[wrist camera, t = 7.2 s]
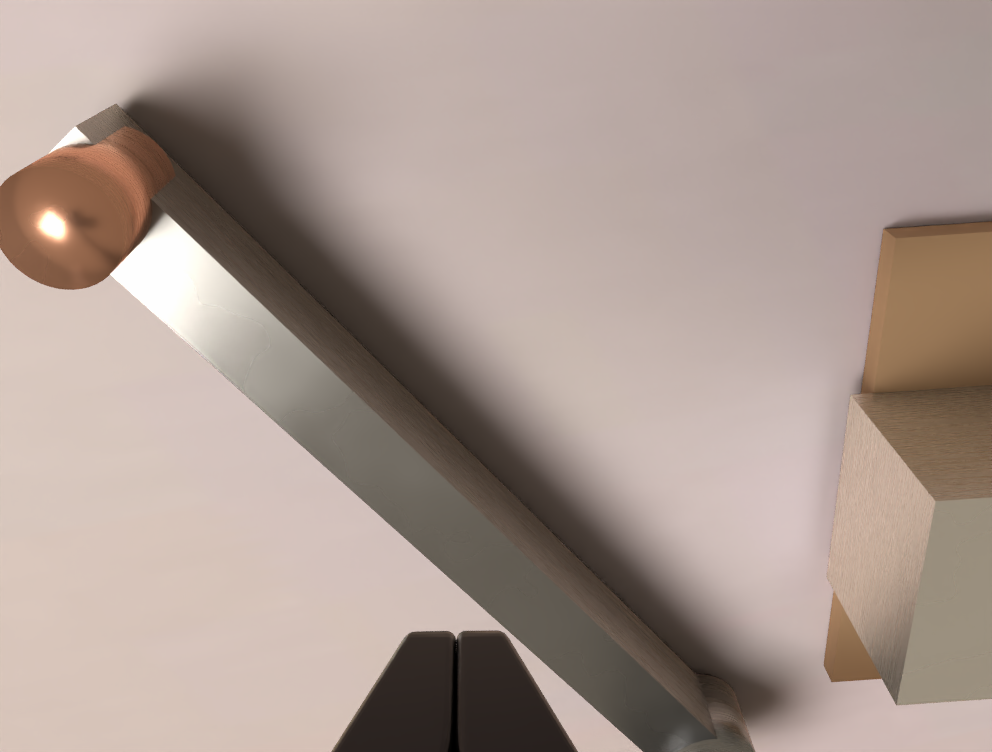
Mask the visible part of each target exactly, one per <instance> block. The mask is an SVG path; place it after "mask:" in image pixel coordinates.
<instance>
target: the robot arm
mask: <svg viewBox="0 0 992 752" xmlns="http://www.w3.org/2000/svg"><path fill="white" fill-rule="evenodd" d="M332 752H578V751H577V750H576V748H575V746H574V745H573V743H572V741H571V740H570V738H569V736H568V735H567V733H566V731H565V730H564V728H563V727H562V725H561V723H560V722H559V720H558V718H557V717H556V715H555V713H554V712H553V710H552V708H551V707H550V705H549V704H548V702H547V700H546V699H545V697H544V695H543V694H542V692H541V690H540V689H539V687H538V685H537V684H536V682H535V680H534V679H533V677H532V676H531V674H530V672H529V671H528V669H527V667H526V666H525V664H524V662H523V661H522V659H521V657H520V656H519V654H518V653H517V651H516V649H515V648H514V646H513V644H512V643H511V641H510V639H509V638H508V637H507V635H506V634H505V633H503V632H501V631H463V632H461V633H460V634H459V635H458V636H457V640H456V638H455V636H454V634H453V633H451V632H449V631H426V632H411V633H409V634H408V635H407V636H406V637H405V638H404V639H403V641H402V642H401V644H400V645H399V647H398V648H397V650H396V651H395V653H394V655H393V656H392V658H391V659H390V661H389V662H388V664H387V666H386V667H385V669H384V670H383V672H382V673H381V675H380V676H379V678H378V680H377V681H376V683H375V684H374V686H373V687H372V689H371V691H370V692H369V694H368V695H367V697H366V698H365V700H364V702H363V703H362V705H361V706H360V708H359V709H358V711H357V712H356V714H355V716H354V717H353V719H352V720H351V722H350V723H349V725H348V727H347V728H346V730H345V731H344V733H343V734H342V736H341V737H340V739H339V741H338V742H337V744H336V745H335V747H334V748H333V750H332Z"/></svg>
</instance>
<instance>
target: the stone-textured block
mask: <svg viewBox="0 0 992 752" xmlns="http://www.w3.org/2000/svg"><path fill="white" fill-rule="evenodd" d="M827 579H828V581H829V582H830V584H831V586H832V588H833V590H834V592H835V593H836V595H837V597H838V599H839V601H840V603H841V604H842V606H843V608H844V610H845V612H846V614H847V615H848V617H849V619H850V621H851V623H852V625H853V626H854V628H855V630H856V632H857V634H858V636H859V637H860V639H861V641H862V643H863V645H864V647H865V648H866V650H867V652H868V654H869V656H870V658H871V659H872V661H873V663H874V665H875V667H876V669H877V671H878V672H879V674H880V676H881V678H882V680H883V682H884V683H885V685H886V687H887V689H888V691H889V693H890V694H891V696H892V698H893V700H894V702H895V704H896V705H909V704H923V703H938V702H952V701H966V700H981V699H992V385H984V386H969V387H955V388H940V389H926V390H911V391H897V392H883V393H868V394H854V395H850V402H849V410H848V417H847V425H846V432H845V440H844V448H843V455H842V463H841V470H840V478H839V486H838V493H837V501H836V508H835V516H834V524H833V531H832V539H831V546H830V554H829V562H828V569H827Z"/></svg>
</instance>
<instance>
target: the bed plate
mask: <svg viewBox="0 0 992 752" xmlns="http://www.w3.org/2000/svg"><path fill="white" fill-rule="evenodd" d="M984 385H992V222H977V223H963V224H948V225H934V226H919V227H905V228H890V229H883V236H882V244H881V251H880V258H879V266H878V273H877V280H876V287H875V295H874V302H873V309H872V316H871V324H870V331H869V338H868V346H867V353H866V360H865V367H864V375H863V382H862V389H861V394H868V393H883V392H897V391H911V390H926V389H940V388H955V387H969V386H984ZM824 667H825V669H826V671H827V673H828V675H829V677H830V679H831V682H840V681H855V680H869V679H882V678H881V676H880V674H879V672H878V671H877V669H876V667H875V665H874V663H873V661H872V659H871V658H870V656H869V654H868V652H867V650H866V648H865V647H864V645H863V643H862V641H861V639H860V637H859V636H858V634H857V632H856V630H855V628H854V626H853V625H852V623H851V621H850V619H849V617H848V615H847V614H846V612H845V610H844V608H843V606H842V604H841V603H840V601H839V599H838V597H837V595H836V593H835V592H834V593H833V600H832V608H831V615H830V622H829V629H828V637H827V644H826V651H825V658H824Z"/></svg>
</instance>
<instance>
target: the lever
mask: <svg viewBox="0 0 992 752" xmlns="http://www.w3.org/2000/svg"><path fill="white" fill-rule="evenodd" d="M0 248H1V250H2V251H3V253H4V254H5V256H6V257H7V258H8V260H9V261H10V262H11V263H12V264H13V265H14V266H15V267H16V268H17V269H18V270H20V271H21V272H22V273H24V274H25V275H26V276H28V277H30V278H31V279H33V280H35V281H37V282H39V283H41V284H44V285H47V286H50V287H54V288H58V289H73V290H74V289H83V288H87V287H90V286H93V285H95V284H97V283H99V282H101V281H103V280H104V279H105V278H106V277H108V276H109V275H112V276H113V277H114V278H115V279H116V280H117V281H118V282H119V283H120V284H122V285H123V286H124V287H125V288H126V289H127V290H128V291H129V292H131V293H132V294H133V295H134V296H135V297H136V298H137V299H138V300H139V301H141V302H142V303H143V304H144V305H145V306H146V307H147V308H148V309H150V310H151V311H152V312H153V313H154V314H155V315H156V316H157V317H158V318H160V319H161V320H162V321H163V322H164V323H165V324H166V325H167V326H169V327H170V328H171V329H172V330H173V331H174V332H175V333H176V334H177V335H179V336H180V337H181V338H182V339H183V340H184V341H185V342H186V343H188V344H189V345H190V346H191V347H192V348H193V349H194V350H195V351H196V352H198V353H199V354H200V355H201V356H202V357H203V358H204V359H205V360H206V361H208V362H209V363H210V364H211V365H212V366H213V367H214V368H215V369H217V370H218V371H219V372H220V373H221V374H222V375H223V376H224V377H225V378H227V379H228V380H229V381H230V382H231V383H232V384H233V385H234V386H236V387H237V388H238V389H239V390H240V391H241V392H242V393H243V394H244V395H246V396H247V397H248V398H249V399H250V400H251V401H252V402H253V403H255V404H256V405H257V406H258V407H259V408H260V409H261V410H262V411H263V412H265V413H266V414H267V415H268V416H269V417H270V418H271V419H272V420H273V421H275V422H276V423H277V424H278V425H279V426H280V427H281V428H282V429H284V430H285V431H286V432H287V433H288V434H289V435H290V436H291V437H292V438H294V439H295V440H296V441H297V442H298V443H299V444H300V445H301V446H303V447H304V448H305V449H306V450H307V451H308V452H309V453H310V454H311V455H313V456H314V457H315V458H316V459H317V460H318V461H319V462H320V463H322V464H323V465H324V466H325V467H326V468H327V469H328V470H329V471H330V472H332V473H333V474H334V475H335V476H336V477H337V478H338V479H339V480H340V481H342V482H343V483H344V484H345V485H346V486H347V487H348V488H349V489H351V490H352V491H353V492H354V493H355V494H356V495H357V496H358V497H359V498H361V499H362V500H363V501H364V502H365V503H366V504H367V505H368V506H370V507H371V508H372V509H373V510H374V511H375V512H376V513H377V514H378V515H380V516H381V517H382V518H383V519H384V520H385V521H386V522H387V523H389V524H390V525H391V526H392V527H393V528H394V529H395V530H396V531H397V532H399V533H400V534H401V535H402V536H403V537H404V538H405V539H406V540H408V541H409V542H410V543H411V544H412V545H413V546H414V547H415V548H416V549H418V550H419V551H420V552H421V553H422V554H423V555H424V556H425V557H426V558H428V559H429V560H430V561H431V562H432V563H433V564H434V565H435V566H437V567H438V568H439V569H440V570H441V571H442V572H443V573H444V574H445V575H447V576H448V577H449V578H450V579H451V580H452V581H453V582H454V583H456V584H457V585H458V586H459V587H460V588H461V589H462V590H463V591H464V592H466V593H467V594H468V595H469V596H470V597H471V598H472V599H473V600H475V601H476V602H477V603H478V604H479V605H480V606H481V607H482V608H483V609H485V610H486V611H487V612H488V613H489V614H490V615H491V616H492V617H493V618H495V619H496V620H497V621H498V622H499V623H500V624H501V625H502V626H504V627H505V628H506V629H507V630H508V631H509V632H510V633H511V634H512V635H514V636H515V637H516V638H517V639H518V640H519V641H520V642H521V643H523V644H524V645H525V646H526V647H527V648H528V649H529V650H530V651H531V652H533V653H534V654H535V655H536V656H537V657H538V658H539V659H540V660H542V661H543V662H544V663H545V664H546V665H547V666H548V667H549V668H550V669H552V670H553V671H554V672H555V673H556V674H557V675H558V676H559V677H560V678H562V679H563V680H564V681H565V682H566V683H567V684H568V685H569V686H571V687H572V688H573V689H574V690H575V691H576V692H577V693H578V694H579V695H581V696H582V697H583V698H584V699H585V700H586V701H587V702H588V703H590V704H591V705H592V706H593V707H594V708H595V709H596V710H597V711H598V712H600V713H601V714H602V715H603V716H604V717H605V718H606V719H607V720H609V721H610V722H611V723H612V724H613V725H614V726H615V727H616V728H617V729H619V730H620V731H621V732H622V733H623V734H624V735H625V736H626V737H627V738H629V739H630V740H631V741H632V742H633V743H634V744H635V745H636V746H638V747H639V748H640V749H641V750H642V751H643V752H755V750H754V747H753V744H752V741H751V738H750V735H749V733H748V730H747V727H746V724H745V721H744V718H743V715H742V712H741V709H740V707H739V704H738V701H737V698H736V695H735V692H734V691H733V689H732V688H731V687H730V685H728V684H727V683H726V682H725V681H723V680H721V679H719V678H717V677H714V676H710V675H705V674H695V673H694V672H693V671H692V670H691V669H690V668H689V667H688V666H687V665H686V664H685V663H684V662H683V661H682V660H681V659H680V658H679V657H678V656H677V655H676V654H675V653H674V652H673V651H672V650H671V649H670V648H669V647H668V646H667V645H666V644H665V643H664V642H663V641H662V640H661V639H660V638H659V637H658V636H657V635H656V634H655V633H654V632H653V631H652V630H651V629H650V628H649V627H648V626H647V625H645V624H644V623H643V622H642V621H641V620H640V619H639V618H638V617H637V616H636V615H635V614H634V613H633V612H632V611H631V610H630V609H629V608H628V607H627V606H626V605H625V604H624V603H623V602H622V601H621V600H620V599H619V598H618V597H617V596H616V595H615V594H614V593H613V592H612V591H611V590H610V589H609V588H608V587H607V586H606V585H605V584H604V583H603V582H602V581H601V580H600V579H599V578H598V577H597V576H596V575H595V574H594V573H593V572H592V571H591V570H590V569H589V568H588V567H587V566H586V565H585V564H584V563H583V562H581V561H580V560H579V559H578V558H577V557H576V556H575V555H574V554H573V553H572V552H571V551H570V550H569V549H568V548H567V547H566V546H565V545H564V544H563V543H562V542H561V541H560V540H559V539H558V538H557V537H556V536H555V535H554V534H553V533H552V532H551V531H550V530H549V529H548V528H547V527H546V526H545V525H544V524H543V523H542V522H541V521H540V520H539V519H538V518H537V517H536V516H535V515H534V514H533V513H532V512H531V511H530V510H529V509H528V508H527V507H526V506H525V505H524V504H523V503H522V502H521V501H520V500H519V499H517V498H516V497H515V496H514V495H513V494H512V493H511V492H510V491H509V490H508V489H507V488H506V487H505V486H504V485H503V484H502V483H501V482H500V481H499V480H498V479H497V478H496V477H495V476H494V475H493V474H492V473H491V472H490V471H489V470H488V469H487V468H486V467H485V466H484V465H483V464H482V463H481V462H480V461H479V460H478V459H477V458H476V457H475V456H474V455H473V454H472V453H471V452H470V451H469V450H468V449H467V448H466V447H465V446H464V445H463V444H462V443H461V442H460V441H459V440H458V439H457V438H456V437H455V436H453V435H452V434H451V433H450V432H449V431H448V430H447V429H446V428H445V427H444V426H443V425H442V424H441V423H440V422H439V421H438V420H437V419H436V418H435V417H434V416H433V415H432V414H431V413H430V412H429V411H428V410H427V409H426V408H425V407H424V406H423V405H422V404H421V403H420V402H419V401H418V400H417V399H416V398H415V397H414V396H413V395H412V394H411V393H410V392H409V391H408V390H407V389H406V388H405V387H404V386H403V385H402V384H401V383H400V382H399V381H398V380H397V379H396V378H395V377H394V376H393V375H392V374H391V373H390V372H388V371H387V370H386V369H385V368H384V367H383V366H382V365H381V364H380V363H379V362H378V361H377V360H376V359H375V358H374V357H373V356H372V355H371V354H370V353H369V352H368V351H367V350H366V349H365V348H364V347H363V346H362V345H361V344H360V343H359V342H358V341H357V340H356V339H355V338H354V337H353V336H352V335H351V334H350V333H349V332H348V331H347V330H346V329H345V328H344V327H343V326H342V325H341V324H340V323H339V322H338V321H337V320H336V319H335V318H334V317H333V316H332V315H331V314H330V313H329V312H328V311H327V310H326V309H324V308H323V307H322V306H321V305H320V304H319V303H318V302H317V301H316V300H315V299H314V298H313V297H312V296H311V295H310V294H309V293H308V292H307V291H306V290H305V289H304V288H303V287H302V286H301V285H300V284H299V283H298V282H297V281H296V280H295V279H294V278H293V277H292V276H291V275H290V274H289V273H288V272H287V271H286V270H285V269H284V268H283V267H282V266H281V265H280V264H279V263H278V262H277V261H276V260H275V259H274V258H273V257H272V256H271V255H270V254H269V253H268V252H267V251H266V250H265V249H264V248H263V247H262V246H260V245H259V244H258V243H257V242H256V241H255V240H254V239H253V238H252V237H251V236H250V235H249V234H248V233H247V232H246V231H245V230H244V229H243V228H242V227H241V226H240V225H239V224H238V223H237V222H236V221H235V220H234V219H233V218H232V217H231V216H230V215H229V214H228V213H227V212H226V211H225V210H224V209H223V208H222V207H221V206H220V205H219V204H218V203H217V202H216V201H215V200H214V199H213V198H212V197H211V196H210V195H209V194H208V193H207V192H206V191H205V190H204V189H203V188H202V187H201V186H200V185H199V184H198V183H196V182H195V181H194V180H193V179H192V178H191V177H190V176H189V175H188V174H187V173H186V172H185V171H184V170H183V169H182V168H181V167H180V166H179V165H178V164H177V163H176V162H175V161H174V160H173V159H172V158H171V157H170V156H169V155H168V154H167V153H166V152H165V151H164V150H163V149H162V148H161V147H160V146H159V145H158V144H157V143H156V142H155V141H154V140H153V139H152V138H151V137H150V136H149V135H148V134H147V133H146V132H145V131H144V130H143V129H142V128H141V127H140V126H139V125H138V124H137V123H136V122H135V121H134V120H132V119H131V118H130V117H129V116H128V115H127V114H126V113H125V112H124V111H123V110H122V109H121V108H120V107H119V106H118V105H117V104H114V105H113V106H111V107H109V108H107V109H105V110H104V111H102V112H100V113H98V114H96V115H95V116H93V117H91V118H89V119H88V120H86V121H84V122H82V123H80V124H79V125H77V126H75V127H74V128H73V129H72V130H71V131H70V132H69V133H68V134H67V135H66V136H65V137H64V138H63V139H62V140H61V141H60V142H59V143H58V145H57V146H56V147H55V148H54V149H53V150H52V151H51V152H50V153H49V154H47V155H46V156H44V157H42V158H41V159H39V160H37V161H35V162H34V163H32V164H30V165H29V166H27V167H25V168H24V169H22V170H20V171H18V172H17V173H15V174H14V175H12V176H10V177H9V178H8V179H7V180H6V181H5V182H4V183H3V184H2V185H1V186H0Z"/></svg>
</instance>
